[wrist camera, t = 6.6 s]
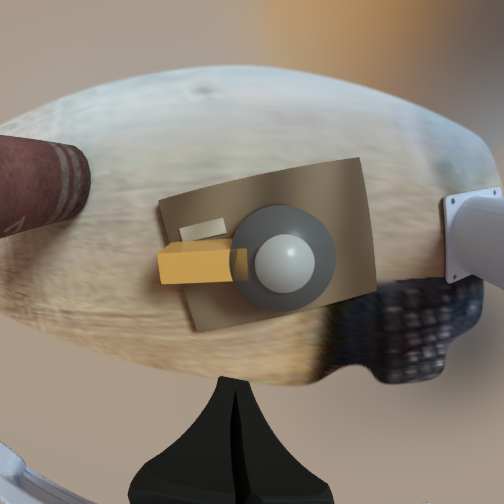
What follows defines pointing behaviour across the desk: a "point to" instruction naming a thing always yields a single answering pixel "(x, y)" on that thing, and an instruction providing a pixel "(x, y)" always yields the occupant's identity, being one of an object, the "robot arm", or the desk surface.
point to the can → (40, 183)
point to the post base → (277, 192)
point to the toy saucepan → (260, 259)
